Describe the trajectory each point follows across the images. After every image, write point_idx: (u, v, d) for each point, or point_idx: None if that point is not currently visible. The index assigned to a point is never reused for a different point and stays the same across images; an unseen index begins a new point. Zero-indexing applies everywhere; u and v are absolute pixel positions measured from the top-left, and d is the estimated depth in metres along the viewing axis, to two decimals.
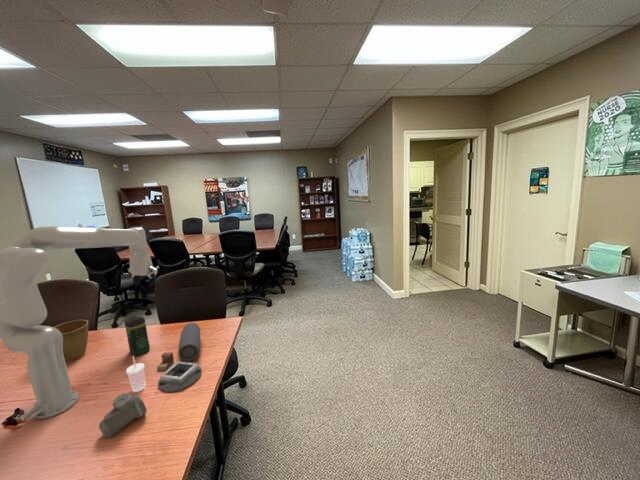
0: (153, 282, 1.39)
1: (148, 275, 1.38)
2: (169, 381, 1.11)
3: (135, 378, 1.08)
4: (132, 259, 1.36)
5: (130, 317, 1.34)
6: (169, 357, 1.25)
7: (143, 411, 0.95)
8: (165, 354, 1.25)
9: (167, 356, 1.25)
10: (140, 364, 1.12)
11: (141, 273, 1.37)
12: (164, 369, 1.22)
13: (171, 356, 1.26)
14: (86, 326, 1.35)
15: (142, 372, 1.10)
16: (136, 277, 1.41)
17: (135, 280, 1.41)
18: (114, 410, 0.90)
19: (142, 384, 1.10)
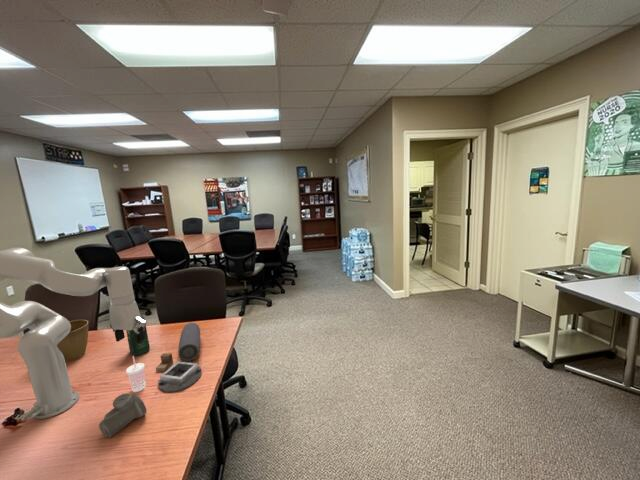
0: (141, 338, 1.06)
1: (134, 329, 1.05)
2: (169, 381, 1.11)
3: (135, 378, 1.08)
4: (113, 309, 1.03)
5: None
6: (168, 358, 1.24)
7: (143, 411, 0.95)
8: (164, 355, 1.25)
9: (166, 357, 1.24)
10: (140, 364, 1.12)
11: (125, 327, 1.04)
12: (163, 370, 1.21)
13: (170, 357, 1.25)
14: (86, 326, 1.35)
15: (142, 372, 1.10)
16: (119, 330, 1.08)
17: (117, 334, 1.08)
18: (114, 410, 0.90)
19: (142, 384, 1.10)
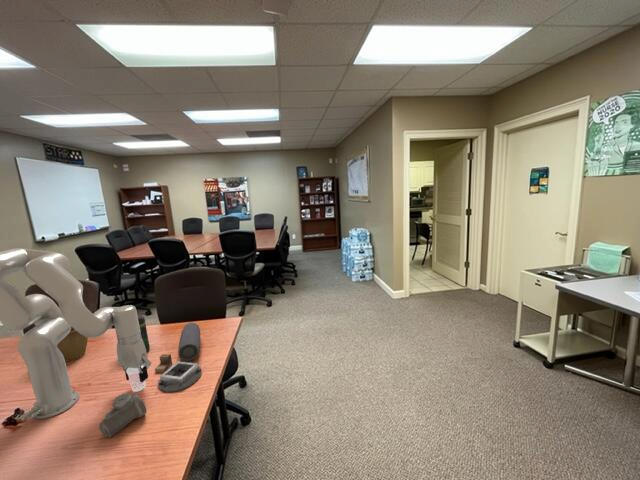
0: (145, 376, 1.09)
1: (139, 368, 1.08)
2: (169, 381, 1.11)
3: (135, 378, 1.08)
4: (120, 348, 1.06)
5: None
6: (167, 359, 1.24)
7: (143, 411, 0.95)
8: (163, 356, 1.24)
9: (165, 358, 1.24)
10: None
11: (132, 365, 1.06)
12: (162, 371, 1.20)
13: (169, 358, 1.24)
14: None
15: None
16: None
17: None
18: (114, 410, 0.90)
19: (142, 383, 1.10)
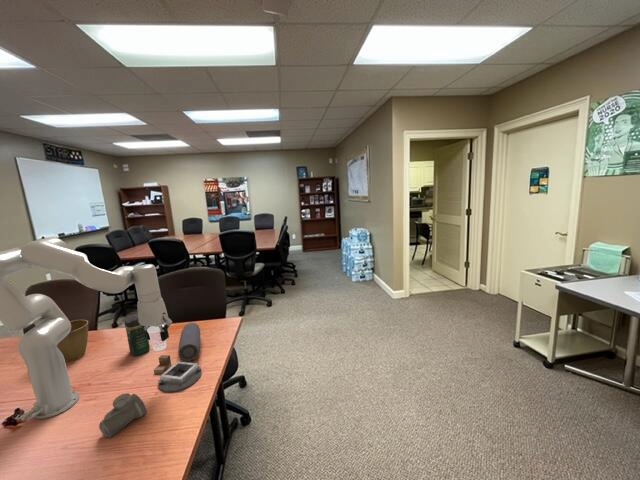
0: (166, 335, 1.09)
1: (160, 327, 1.07)
2: (169, 381, 1.11)
3: (156, 336, 1.08)
4: (141, 306, 1.06)
5: (130, 317, 1.34)
6: (166, 360, 1.23)
7: (143, 411, 0.95)
8: (162, 357, 1.23)
9: (164, 359, 1.23)
10: None
11: (153, 324, 1.06)
12: (161, 372, 1.20)
13: (168, 359, 1.24)
14: (86, 326, 1.35)
15: None
16: None
17: None
18: (114, 410, 0.90)
19: (163, 343, 1.10)
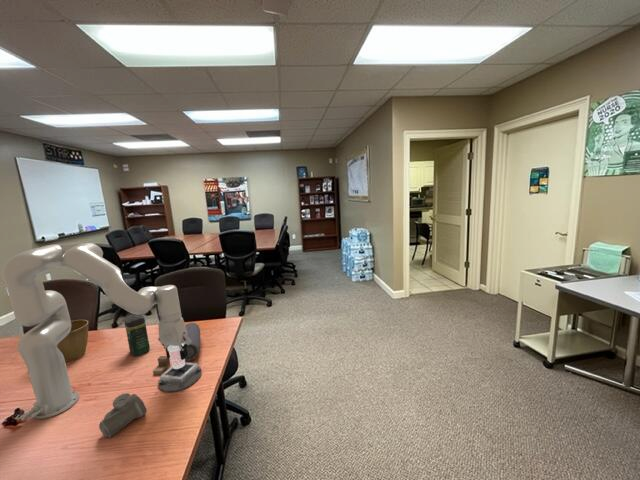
0: (185, 354, 1.12)
1: (180, 346, 1.11)
2: (169, 381, 1.11)
3: (176, 355, 1.11)
4: (162, 326, 1.09)
5: (130, 317, 1.34)
6: (165, 361, 1.22)
7: (143, 411, 0.95)
8: (161, 358, 1.23)
9: (163, 360, 1.22)
10: None
11: (173, 343, 1.09)
12: (160, 373, 1.19)
13: (167, 360, 1.23)
14: (86, 326, 1.35)
15: None
16: None
17: (168, 351, 1.13)
18: (114, 410, 0.90)
19: (182, 361, 1.13)
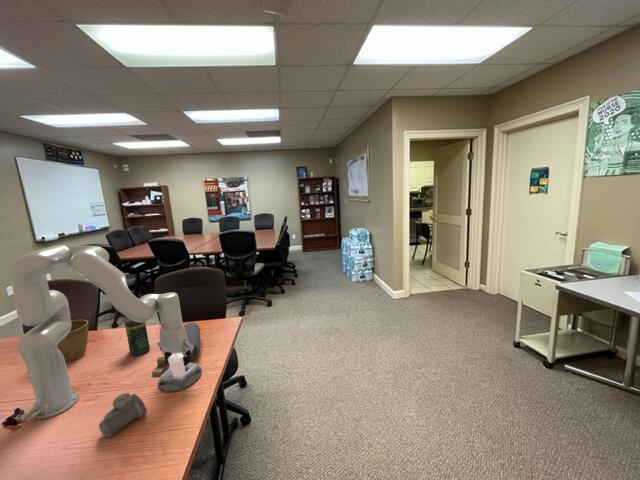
0: (188, 360, 1.13)
1: (182, 352, 1.11)
2: (169, 381, 1.11)
3: (177, 366, 1.12)
4: (164, 333, 1.10)
5: None
6: (164, 362, 1.22)
7: (143, 411, 0.95)
8: (160, 358, 1.22)
9: (162, 361, 1.22)
10: (180, 353, 1.16)
11: (174, 350, 1.10)
12: (159, 374, 1.18)
13: None
14: (86, 326, 1.35)
15: None
16: (168, 353, 1.15)
17: (167, 357, 1.14)
18: (114, 410, 0.90)
19: (183, 372, 1.14)
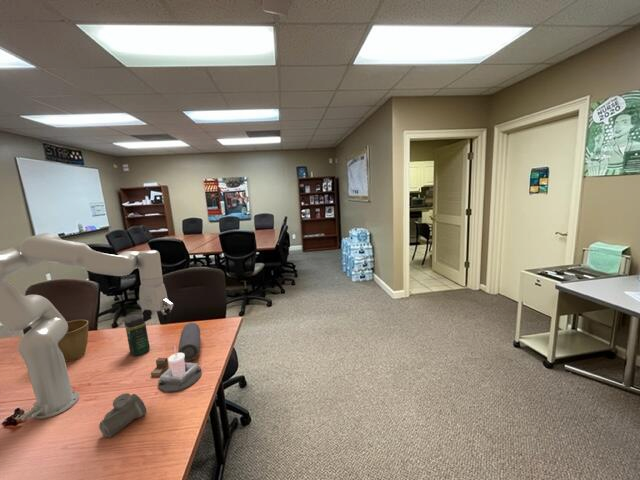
0: (167, 319, 1.11)
1: (162, 310, 1.10)
2: (169, 381, 1.11)
3: (177, 366, 1.12)
4: (143, 290, 1.09)
5: (130, 317, 1.34)
6: (164, 362, 1.21)
7: (143, 411, 0.95)
8: (159, 359, 1.22)
9: (161, 361, 1.21)
10: (180, 353, 1.16)
11: (153, 308, 1.09)
12: (158, 375, 1.18)
13: (166, 361, 1.22)
14: (86, 326, 1.35)
15: (183, 361, 1.14)
16: (147, 311, 1.14)
17: (145, 315, 1.13)
18: (114, 410, 0.90)
19: (183, 372, 1.14)
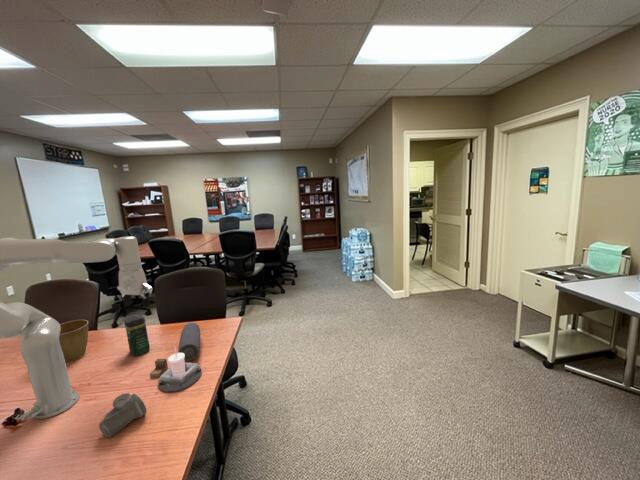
0: (147, 303, 1.15)
1: (141, 294, 1.13)
2: (169, 381, 1.11)
3: (177, 366, 1.12)
4: (122, 275, 1.12)
5: (130, 317, 1.34)
6: (163, 363, 1.20)
7: (143, 411, 0.95)
8: (158, 360, 1.21)
9: (160, 362, 1.20)
10: (180, 353, 1.16)
11: (133, 292, 1.12)
12: (157, 376, 1.17)
13: (165, 362, 1.21)
14: (86, 326, 1.35)
15: (183, 361, 1.14)
16: (127, 296, 1.17)
17: (126, 300, 1.16)
18: (114, 410, 0.90)
19: (183, 372, 1.14)
